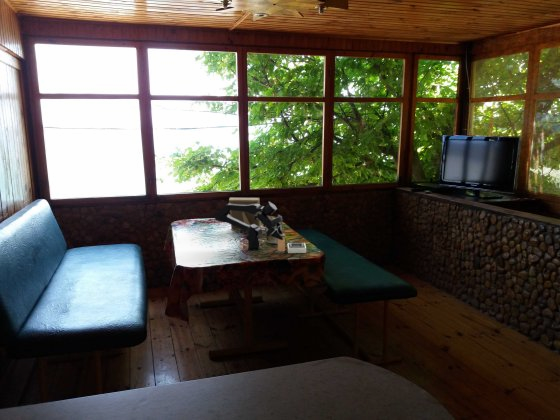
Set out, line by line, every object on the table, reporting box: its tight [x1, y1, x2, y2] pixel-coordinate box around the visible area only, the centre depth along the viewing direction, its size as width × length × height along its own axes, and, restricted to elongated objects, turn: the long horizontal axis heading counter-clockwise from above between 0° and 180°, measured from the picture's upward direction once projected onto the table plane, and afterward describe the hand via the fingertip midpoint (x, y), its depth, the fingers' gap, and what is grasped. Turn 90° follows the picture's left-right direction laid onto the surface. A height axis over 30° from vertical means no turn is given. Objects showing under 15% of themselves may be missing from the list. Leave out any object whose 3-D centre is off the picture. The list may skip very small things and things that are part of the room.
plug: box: [277, 233, 286, 252], centre depth 259 cm, size 5×5×10 cm
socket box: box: [287, 242, 307, 254], centre depth 260 cm, size 11×12×4 cm
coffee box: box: [265, 216, 283, 245], centre depth 278 cm, size 9×6×16 cm
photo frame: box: [228, 197, 262, 234], centre depth 310 cm, size 15×22×25 cm
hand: (283, 238), depth 259 cm, fingers closed on plug, 5 cm apart
